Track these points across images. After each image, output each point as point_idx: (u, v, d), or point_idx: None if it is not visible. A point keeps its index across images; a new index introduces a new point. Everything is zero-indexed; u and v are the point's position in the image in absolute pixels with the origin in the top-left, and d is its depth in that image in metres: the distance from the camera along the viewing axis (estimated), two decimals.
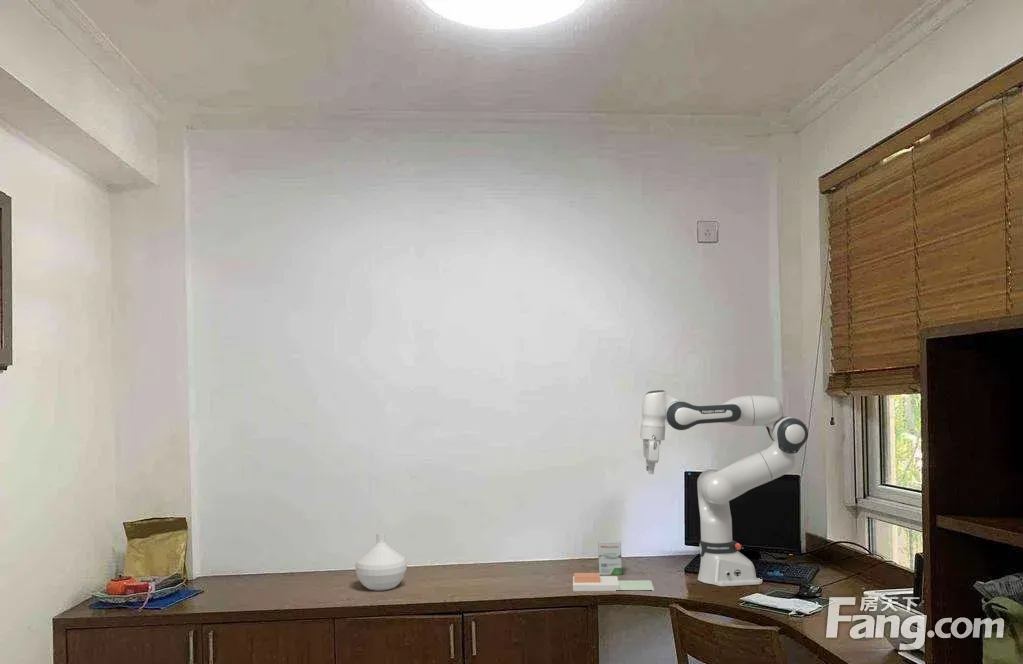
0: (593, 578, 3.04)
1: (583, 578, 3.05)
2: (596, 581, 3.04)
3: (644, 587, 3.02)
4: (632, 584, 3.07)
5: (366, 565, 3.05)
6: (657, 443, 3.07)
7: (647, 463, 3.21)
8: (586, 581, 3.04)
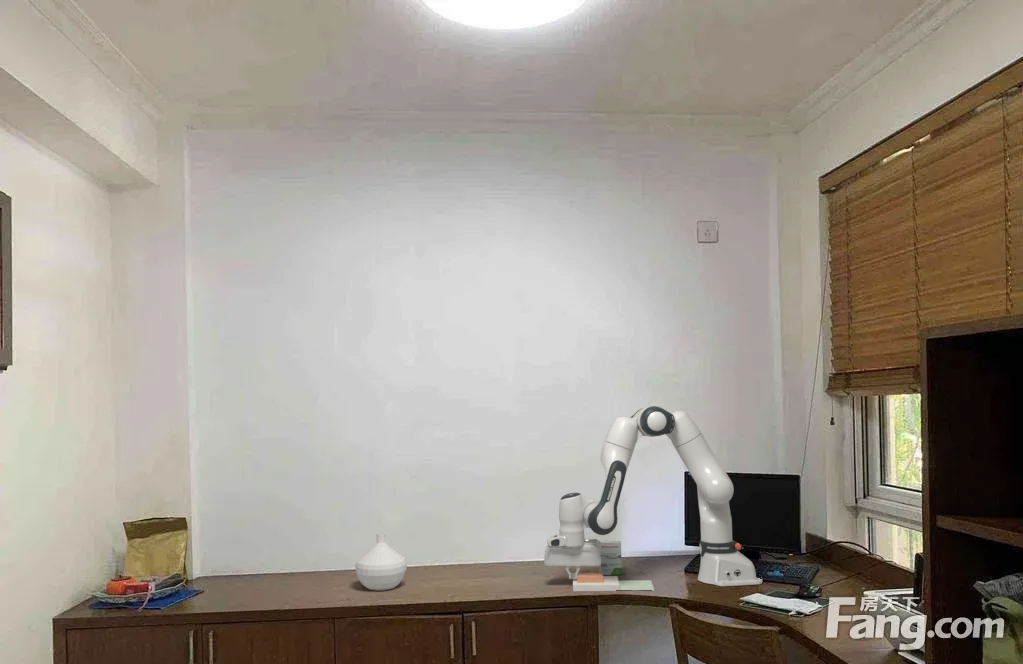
0: (596, 578, 3.04)
1: (586, 578, 3.05)
2: (599, 581, 3.04)
3: (644, 587, 3.02)
4: (632, 584, 3.07)
5: (366, 565, 3.05)
6: None
7: (569, 571, 3.07)
8: (589, 581, 3.04)
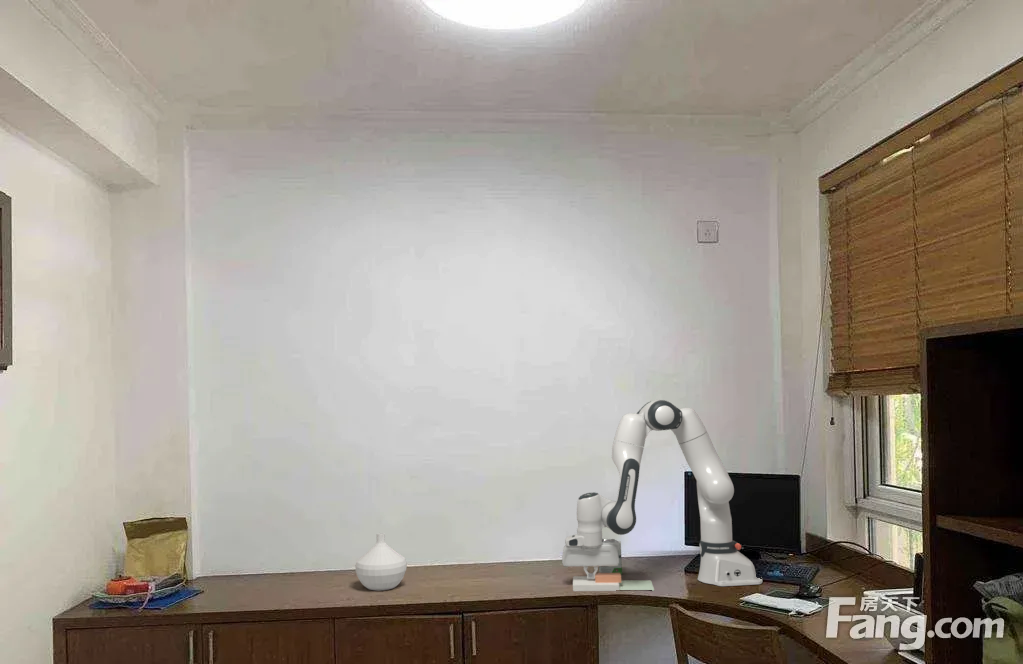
0: (614, 578, 3.04)
1: (604, 578, 3.04)
2: (617, 581, 3.04)
3: (644, 587, 3.02)
4: (632, 584, 3.07)
5: (366, 565, 3.05)
6: None
7: (587, 571, 3.07)
8: (607, 581, 3.04)
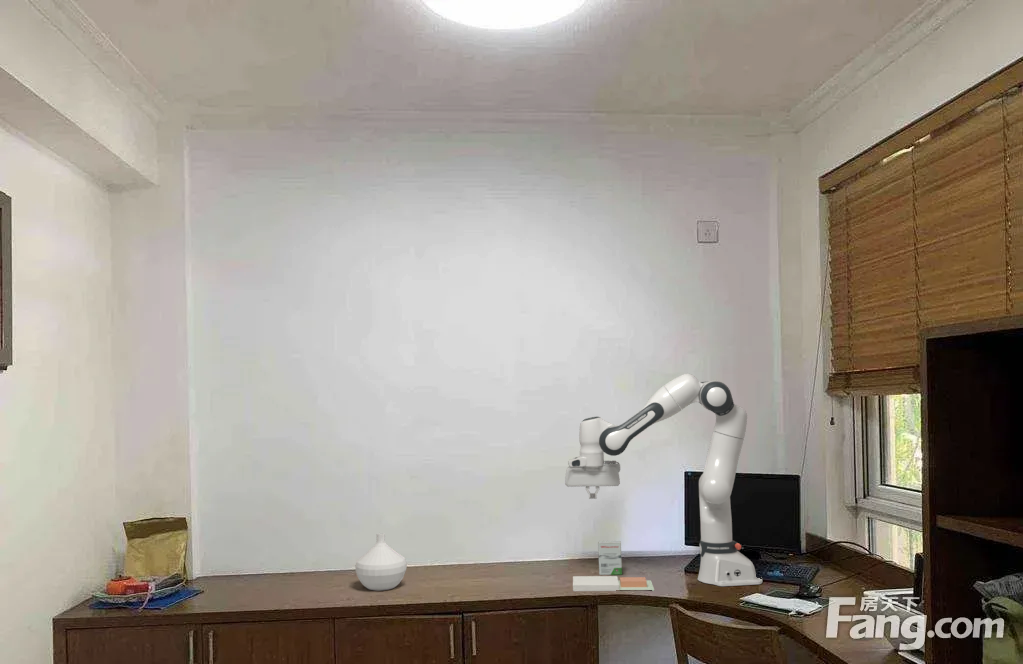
0: (640, 582, 3.03)
1: (629, 582, 3.03)
2: (643, 585, 3.03)
3: (644, 587, 3.02)
4: None
5: (366, 565, 3.05)
6: None
7: None
8: (633, 585, 3.03)
